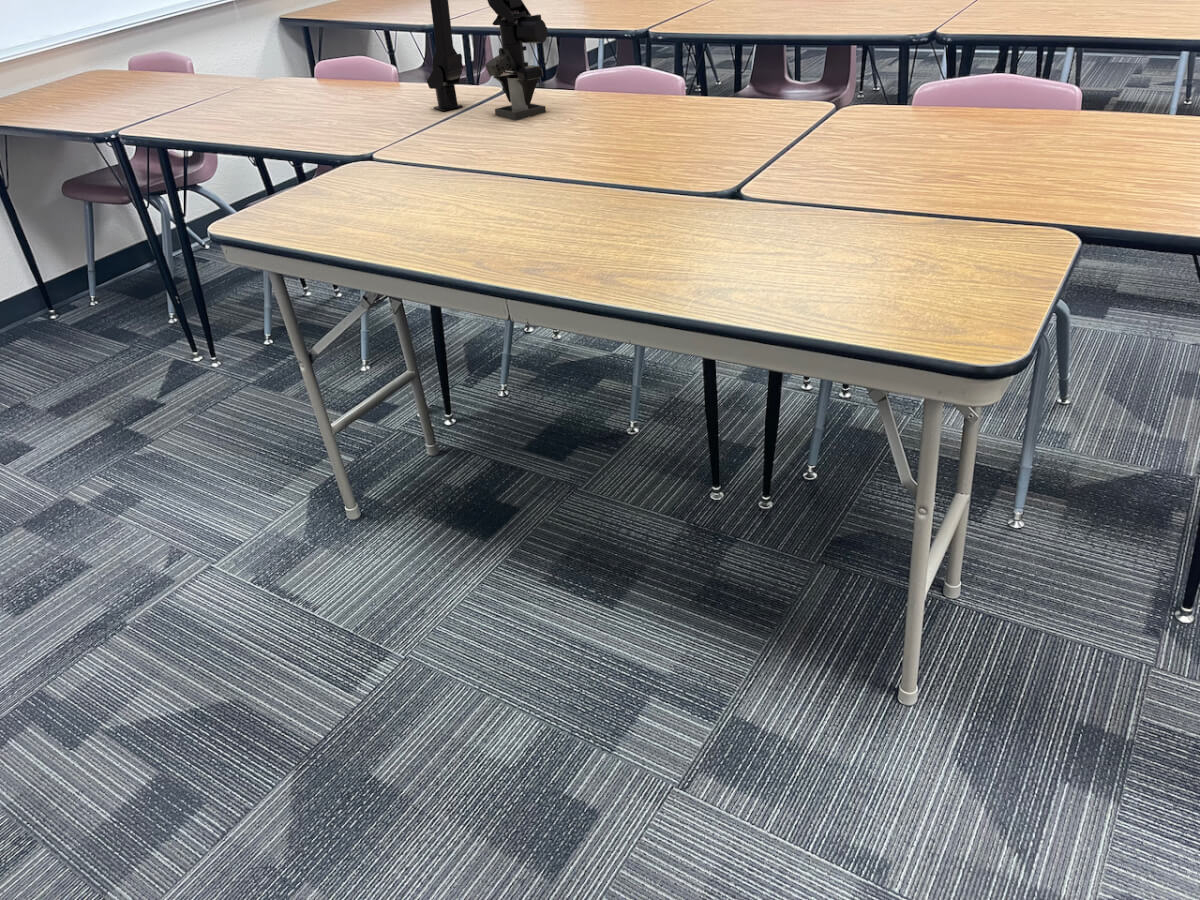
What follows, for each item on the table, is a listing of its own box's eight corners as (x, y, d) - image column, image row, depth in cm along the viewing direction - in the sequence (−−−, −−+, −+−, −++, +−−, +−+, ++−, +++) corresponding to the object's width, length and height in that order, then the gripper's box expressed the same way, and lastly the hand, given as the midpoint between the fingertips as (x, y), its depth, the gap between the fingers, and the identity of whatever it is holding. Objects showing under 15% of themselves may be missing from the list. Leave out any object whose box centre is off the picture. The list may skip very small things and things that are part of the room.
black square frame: (495, 116, 243) (494, 108, 242) (525, 109, 248) (524, 102, 247) (515, 120, 236) (514, 113, 235) (546, 113, 241) (545, 106, 240)
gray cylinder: (529, 111, 243) (524, 73, 237) (527, 116, 240) (522, 77, 234) (514, 112, 244) (509, 74, 238) (511, 117, 240) (506, 78, 234)
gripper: (469, 45, 234) (477, 105, 243) (506, 49, 221) (514, 112, 230) (503, 39, 240) (510, 98, 248) (541, 43, 227) (547, 105, 235)
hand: (519, 103), depth 240 cm, fingers open, 8 cm apart
